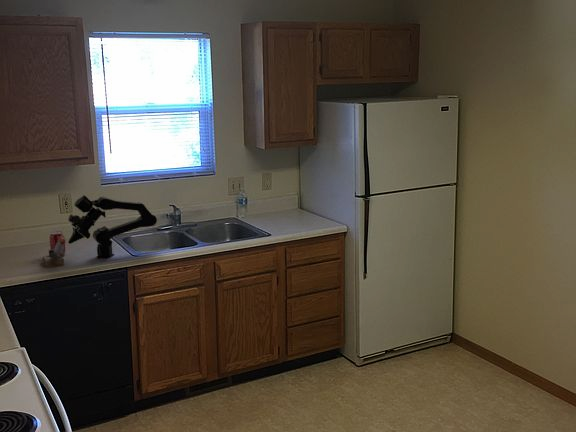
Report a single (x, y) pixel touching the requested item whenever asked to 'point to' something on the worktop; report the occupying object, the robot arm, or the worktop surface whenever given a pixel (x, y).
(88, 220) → the robot arm
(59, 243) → the copper roller
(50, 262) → the switch block
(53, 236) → the soda can
